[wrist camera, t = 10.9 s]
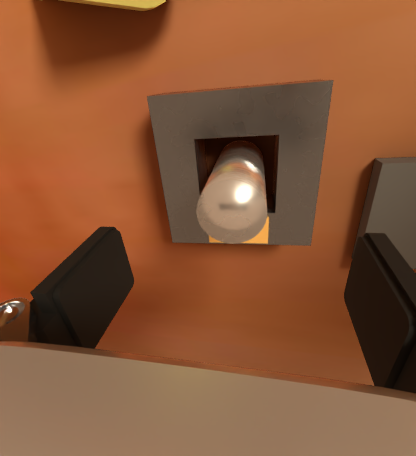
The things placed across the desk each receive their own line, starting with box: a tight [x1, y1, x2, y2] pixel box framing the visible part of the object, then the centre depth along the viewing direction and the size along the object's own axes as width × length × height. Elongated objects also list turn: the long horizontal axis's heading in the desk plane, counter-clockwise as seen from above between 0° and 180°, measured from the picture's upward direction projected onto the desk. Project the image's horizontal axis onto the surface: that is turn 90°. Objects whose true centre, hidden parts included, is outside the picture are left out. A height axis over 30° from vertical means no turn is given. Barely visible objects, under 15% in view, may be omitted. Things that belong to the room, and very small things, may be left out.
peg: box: [196, 140, 267, 244], centre depth 19 cm, size 4×4×10 cm
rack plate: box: [147, 80, 333, 246], centre depth 21 cm, size 12×12×4 cm
